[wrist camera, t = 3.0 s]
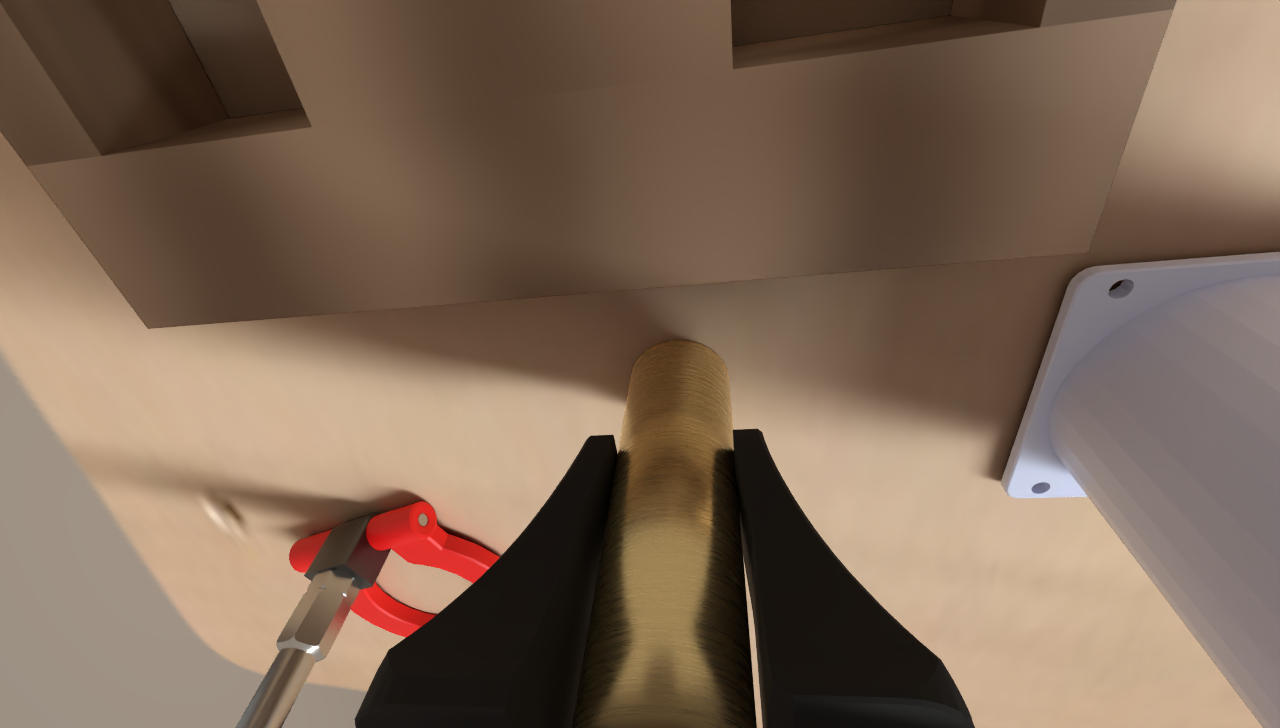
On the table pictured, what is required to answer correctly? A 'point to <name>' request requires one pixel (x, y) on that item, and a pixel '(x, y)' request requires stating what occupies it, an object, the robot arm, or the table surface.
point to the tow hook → (354, 594)
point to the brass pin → (671, 559)
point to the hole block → (565, 146)
